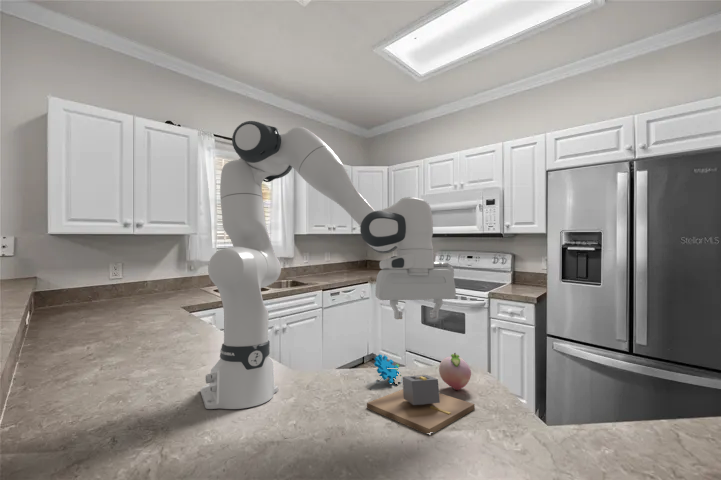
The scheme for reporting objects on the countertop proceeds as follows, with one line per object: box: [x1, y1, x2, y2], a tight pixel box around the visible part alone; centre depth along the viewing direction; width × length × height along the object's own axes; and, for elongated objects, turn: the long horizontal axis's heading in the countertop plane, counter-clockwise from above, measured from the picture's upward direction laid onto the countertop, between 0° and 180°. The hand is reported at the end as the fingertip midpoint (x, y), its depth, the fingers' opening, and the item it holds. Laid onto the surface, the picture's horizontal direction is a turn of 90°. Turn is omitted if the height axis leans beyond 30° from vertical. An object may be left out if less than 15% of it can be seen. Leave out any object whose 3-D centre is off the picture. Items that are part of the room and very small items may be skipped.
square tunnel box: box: [402, 374, 440, 405], centre depth 76 cm, size 6×6×5 cm
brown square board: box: [366, 375, 475, 434], centre depth 76 cm, size 18×18×7 cm
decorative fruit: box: [438, 352, 472, 391], centre depth 89 cm, size 9×8×10 cm
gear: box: [373, 353, 400, 384], centre depth 96 cm, size 11×6×10 cm
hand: (416, 318), depth 79 cm, fingers open, 8 cm apart
